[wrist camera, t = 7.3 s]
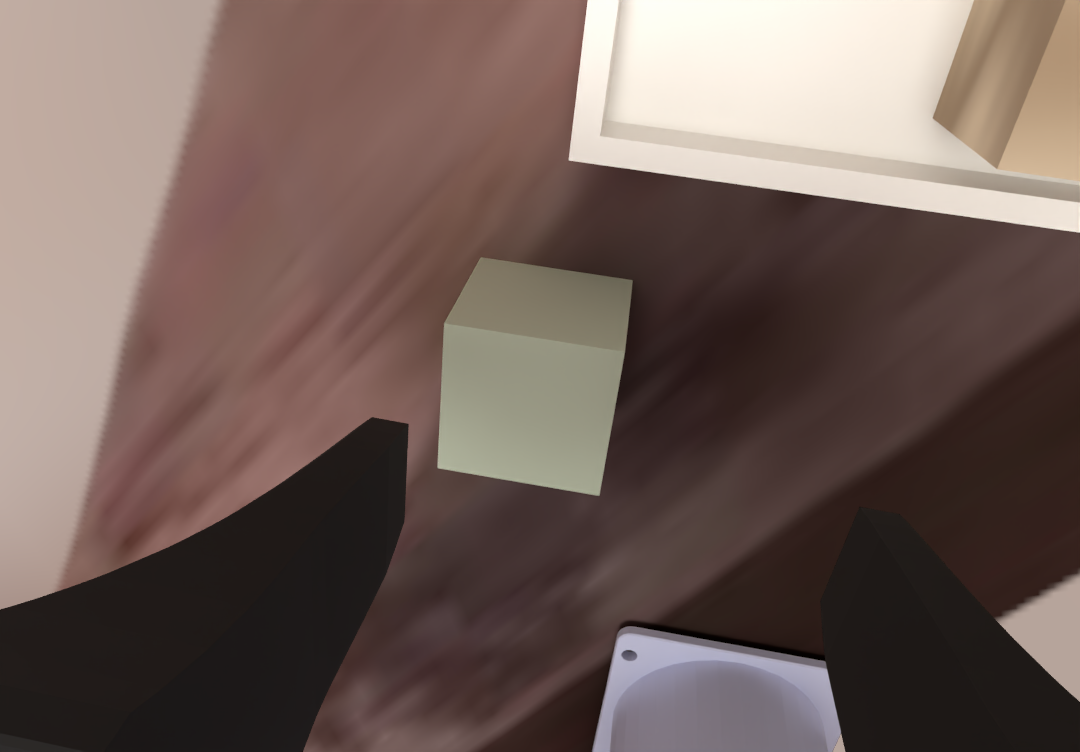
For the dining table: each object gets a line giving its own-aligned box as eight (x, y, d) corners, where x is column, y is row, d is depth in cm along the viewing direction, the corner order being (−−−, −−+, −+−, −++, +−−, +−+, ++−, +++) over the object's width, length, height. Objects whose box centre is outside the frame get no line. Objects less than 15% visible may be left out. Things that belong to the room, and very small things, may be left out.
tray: (1134, 215, 18) (1182, 246, 16) (577, 138, 19) (568, 160, 17) (1325, -168, 14) (1413, -179, 13) (624, -241, 15) (618, -261, 14)
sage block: (610, 407, 23) (599, 496, 19) (472, 385, 23) (437, 467, 20) (633, 278, 21) (624, 351, 17) (481, 256, 21) (444, 323, 18)
